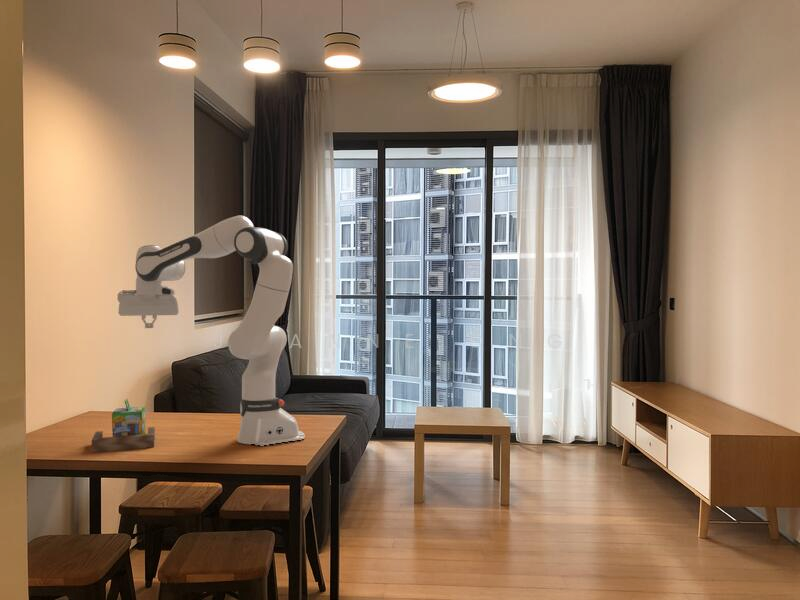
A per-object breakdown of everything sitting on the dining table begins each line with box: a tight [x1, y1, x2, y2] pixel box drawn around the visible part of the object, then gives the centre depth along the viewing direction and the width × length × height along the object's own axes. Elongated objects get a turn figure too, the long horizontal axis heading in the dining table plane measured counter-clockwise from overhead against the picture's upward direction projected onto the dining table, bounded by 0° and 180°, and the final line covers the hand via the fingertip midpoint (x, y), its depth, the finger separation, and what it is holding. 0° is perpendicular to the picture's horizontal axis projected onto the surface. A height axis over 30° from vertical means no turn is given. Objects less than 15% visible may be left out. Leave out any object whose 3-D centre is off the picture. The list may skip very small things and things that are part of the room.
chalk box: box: [111, 398, 147, 437], centre depth 196 cm, size 9×9×15 cm
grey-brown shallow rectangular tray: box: [91, 426, 156, 453], centre depth 194 cm, size 18×12×4 cm, turn 111°
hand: (149, 328), depth 216 cm, fingers closed
